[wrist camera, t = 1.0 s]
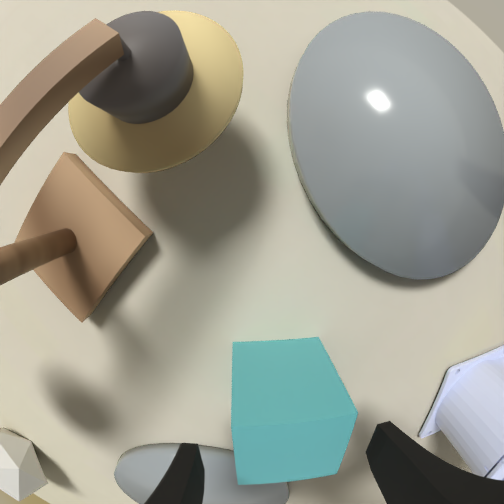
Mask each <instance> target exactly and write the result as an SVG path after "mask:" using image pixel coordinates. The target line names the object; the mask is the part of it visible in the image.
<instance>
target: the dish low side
mask: <svg viewBox="0 0 504 504" xmlns="http://www.w3.org/2000/svg"><path fill="white" fill-rule="evenodd" d="M287 127H288V137H289V144H290V148H291V152H292V157H293V161H294V164H295V167H296V170H297V173H298V175H299V178H300V181H301V183H302V185H303V188H304V190H305V192H306V194H307V196H308V198H309V200H310V202H311V203H312V205H313V207H314V208H315V210H316V211H317V213H318V214H319V216H320V218H321V219H322V220H323V222H324V223H325V224H326V225H327V226H328V228H329V229H330V230H331V231H332V233H333V234H334V235H335V236H336V237H337V238H338V239H339V240H340V241H341V242H342V243H343V244H344V245H345V246H346V247H347V248H349V249H350V250H352V251H353V252H354V253H356V254H357V255H358V256H360V257H361V258H363V259H364V260H366V261H368V262H370V263H371V264H373V265H375V266H377V267H379V268H381V269H382V270H384V271H386V272H389V273H391V274H394V275H397V276H400V277H404V278H410V279H433V278H438V277H443V276H445V275H448V274H450V273H453V272H455V271H457V270H458V269H460V268H462V267H463V266H465V265H466V264H467V263H469V262H470V261H471V260H472V259H473V258H475V256H476V255H477V254H478V253H479V252H480V251H481V250H482V249H483V247H484V246H485V245H486V243H487V242H488V240H489V239H490V237H491V235H492V233H493V232H494V230H495V228H496V226H497V223H498V221H499V218H500V216H501V213H502V209H503V205H504V131H503V127H502V124H501V120H500V117H499V114H498V111H497V109H496V106H495V104H494V101H493V99H492V97H491V95H490V93H489V91H488V89H487V87H486V86H485V84H484V82H483V81H482V79H481V78H480V76H479V75H478V73H477V72H476V70H475V69H474V68H473V66H472V65H471V64H470V63H469V61H468V60H467V59H466V58H465V57H464V56H463V55H462V54H461V53H460V52H459V51H458V50H457V49H456V48H455V47H454V46H453V45H452V44H451V43H450V42H449V41H447V40H446V39H445V38H443V37H442V36H441V35H439V34H438V33H437V32H435V31H433V30H432V29H430V28H428V27H427V26H425V25H423V24H421V23H419V22H416V21H414V20H412V19H409V18H406V17H403V16H400V15H396V14H391V13H385V12H362V13H355V14H351V15H348V16H345V17H342V18H340V19H338V20H336V21H334V22H332V23H330V24H329V25H328V26H326V27H325V28H324V29H323V30H321V31H320V32H319V33H318V34H317V35H316V36H315V38H314V39H313V40H312V41H311V42H310V43H309V45H308V47H307V49H306V50H305V52H304V54H303V56H302V57H301V59H300V61H299V63H298V65H297V67H296V70H295V73H294V76H293V78H292V81H291V84H290V90H289V96H288V101H287Z"/></svg>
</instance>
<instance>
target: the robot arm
mask: <svg viewBox="0 0 504 504" xmlns="http://www.w3.org/2000/svg"><path fill="white" fill-rule="evenodd" d="M438 431H442V432H443V433H444V435H445V436H446V437H447V439H448V440H449V441H450V443H451V444H452V445H453V447H454V448H455V449H456V451H457V452H458V453H459V455H460V456H461V458H462V459H463V460H464V462H465V463H466V464H467V466H468V467H469V469H470V470H471V471H472V473H473V474H472V473H469V472H466V471H464V470H461V469H459V468H457V467H455V466H453V465H451V464H449V463H447V462H445V461H443V460H442V459H440V458H438V457H437V456H435V455H433V454H432V453H430V452H429V451H427V450H426V449H425V448H423V447H422V446H420V445H419V444H418V443H416V442H415V441H414V440H413V439H411V438H410V437H409V436H407V435H406V434H405V433H404V432H402V431H401V430H400V429H399V428H398V427H396V426H395V425H394V424H393V423H391V422H390V421H388V422H384V423H381V424H377V426H376V429H375V431H374V434H373V436H372V439H371V441H370V443H369V446H368V448H367V450H366V454H367V458H368V461H369V465H370V468H371V471H372V473H373V475H374V477H375V480H376V482H377V484H378V486H379V488H380V490H381V492H382V494H383V496H384V499H385V501H386V503H387V504H504V345H502V346H500V347H498V348H496V349H494V350H492V351H489V352H487V353H485V354H482V355H480V356H477V357H475V358H472V359H470V360H467V361H465V362H462V363H459V364H457V365H454V366H452V367H450V368H449V369H448V371H447V373H446V375H445V378H444V381H443V383H442V386H441V388H440V391H439V393H438V395H437V398H436V400H435V402H434V404H433V407H432V409H431V411H430V413H429V415H428V417H427V419H426V421H425V423H424V425H423V427H422V429H421V431H420V433H419V437H420V438H424V437H427V436H429V435H431V434H434V433H436V432H438ZM204 484H205V469H204V465H203V461H202V458H201V454H200V450H199V446H198V444H191V443H182V444H180V446H179V448H178V451H177V453H176V455H175V457H174V459H173V461H172V463H171V464H170V466H169V468H168V470H167V471H166V473H165V475H164V476H163V478H162V479H161V481H160V483H159V484H158V486H157V487H156V488H155V490H154V491H153V493H152V494H151V495H150V497H149V498H148V499H147V501H146V502H145V503H144V504H202V503H203V496H204Z"/></svg>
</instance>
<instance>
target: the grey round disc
mask: <svg viewBox="0 0 504 504" xmlns="http://www.w3.org/2000/svg"><path fill="white" fill-rule="evenodd" d="M179 446H180V444H178V443H159V444H149V445H143V446H138V447H135V448H132V449H130V450H128V451H126V452H125V453H124V454H122V455H121V457H120V458H119V460H118V463H117V466H116V469H115V472H114V476H115V480H116V482H117V484H118V486H119V487H120V488H121V489H122V491H123V492H124V493H126V494H127V495H128V496H129V497H130V498H132V499H133V500H134V501H136V502H137V503H139V504H144V503H145V502H146V501H147V499H148V498H149V497H150V495H151V494H152V493H153V491H154V490H155V488H156V487H157V486H158V484H159V483H160V481H161V479H162V478H163V476H164V475H165V473H166V471H167V470H168V468H169V466H170V464H171V463H172V461H173V459H174V457H175V455H176V453H177V451H178V448H179ZM198 446H199V450H200V454H201V458H202V461H203V465H204V469H205V484H204V496H203V503H202V504H286V502H287V501H288V498H289V490H288V484H287V482H279V483H267V484H248V485H238V481H237V473H236V465H235V457H234V451H231V450H227V449H221V448H216V447H210V446H202V445H198Z"/></svg>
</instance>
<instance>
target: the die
mask: <svg viewBox="0 0 504 504" xmlns="http://www.w3.org/2000/svg"><path fill="white" fill-rule="evenodd" d="M46 484H48V482H47V480H46V477H45V475H44V473H43V470H42V468H41V466H40V463H39V461H38V458H37V456H36V453H35V450H34V447H33V445H32V442H31V441H30V440H28V439H26V438H23V437H21V436H19V435H17V434H15V433H13V432H11V431H9V430H7V429H5V428H0V489H1V490H2V491H4V492H5V493H7V494H8V495H10V496H12V497H13V498H15V499H16V500H18V501H21V500H23V499H24V498H26V497H27V496H29V495H31V494H32V493H34V492H35V491H37V490H38V489H40V488H42V487H43V486H45V485H46Z"/></svg>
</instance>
